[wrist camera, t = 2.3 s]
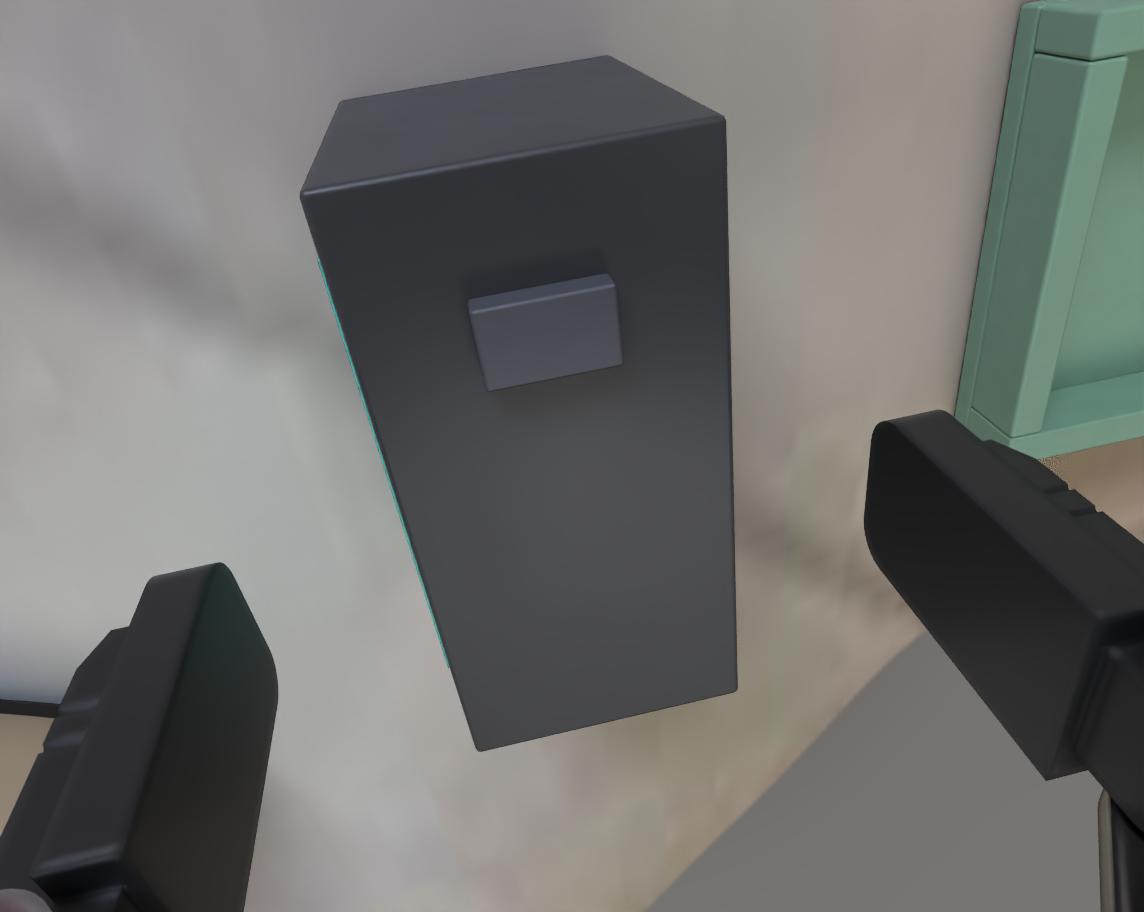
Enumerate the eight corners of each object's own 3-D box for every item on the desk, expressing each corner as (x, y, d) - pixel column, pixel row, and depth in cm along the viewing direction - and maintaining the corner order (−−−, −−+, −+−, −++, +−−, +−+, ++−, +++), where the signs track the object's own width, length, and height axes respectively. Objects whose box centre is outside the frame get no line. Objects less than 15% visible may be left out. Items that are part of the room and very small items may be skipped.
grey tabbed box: (448, 541, 17) (466, 779, 12) (324, 103, 12) (270, 206, 7) (651, 498, 18) (747, 712, 13) (611, 54, 13) (741, 121, 8)
